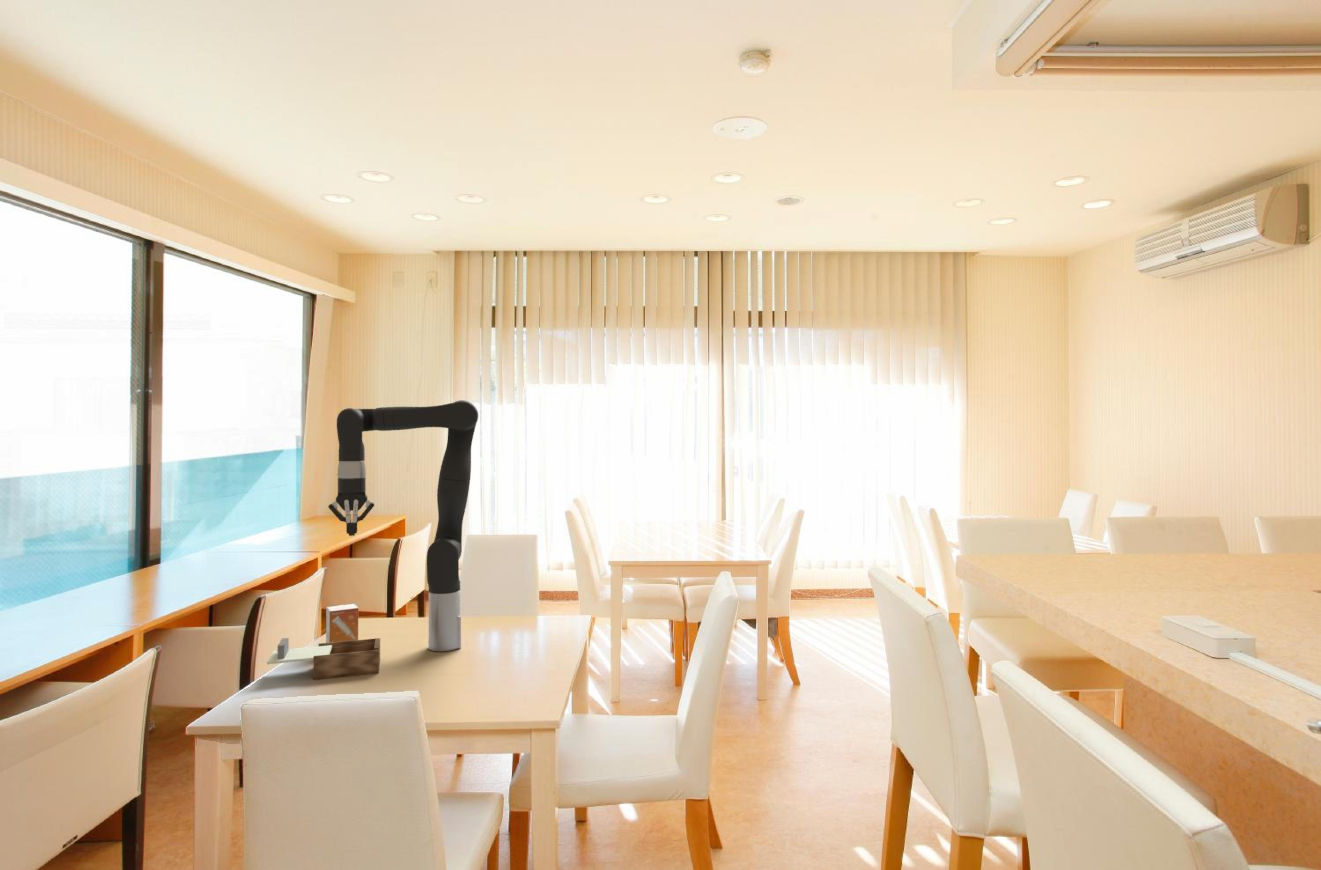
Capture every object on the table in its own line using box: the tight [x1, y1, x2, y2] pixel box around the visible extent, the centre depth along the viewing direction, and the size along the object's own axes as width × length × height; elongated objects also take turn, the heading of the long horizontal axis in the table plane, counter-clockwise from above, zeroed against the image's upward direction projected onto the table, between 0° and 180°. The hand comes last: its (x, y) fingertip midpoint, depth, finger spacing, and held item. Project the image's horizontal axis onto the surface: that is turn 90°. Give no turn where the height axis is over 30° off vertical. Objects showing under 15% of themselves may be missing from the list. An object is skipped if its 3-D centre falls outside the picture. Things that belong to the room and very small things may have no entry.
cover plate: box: [266, 637, 332, 665], centre depth 193 cm, size 14×11×4 cm
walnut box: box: [313, 637, 381, 680], centre depth 197 cm, size 16×12×6 cm
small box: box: [325, 603, 359, 643], centre depth 214 cm, size 8×6×13 cm
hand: (351, 535), depth 210 cm, fingers closed
